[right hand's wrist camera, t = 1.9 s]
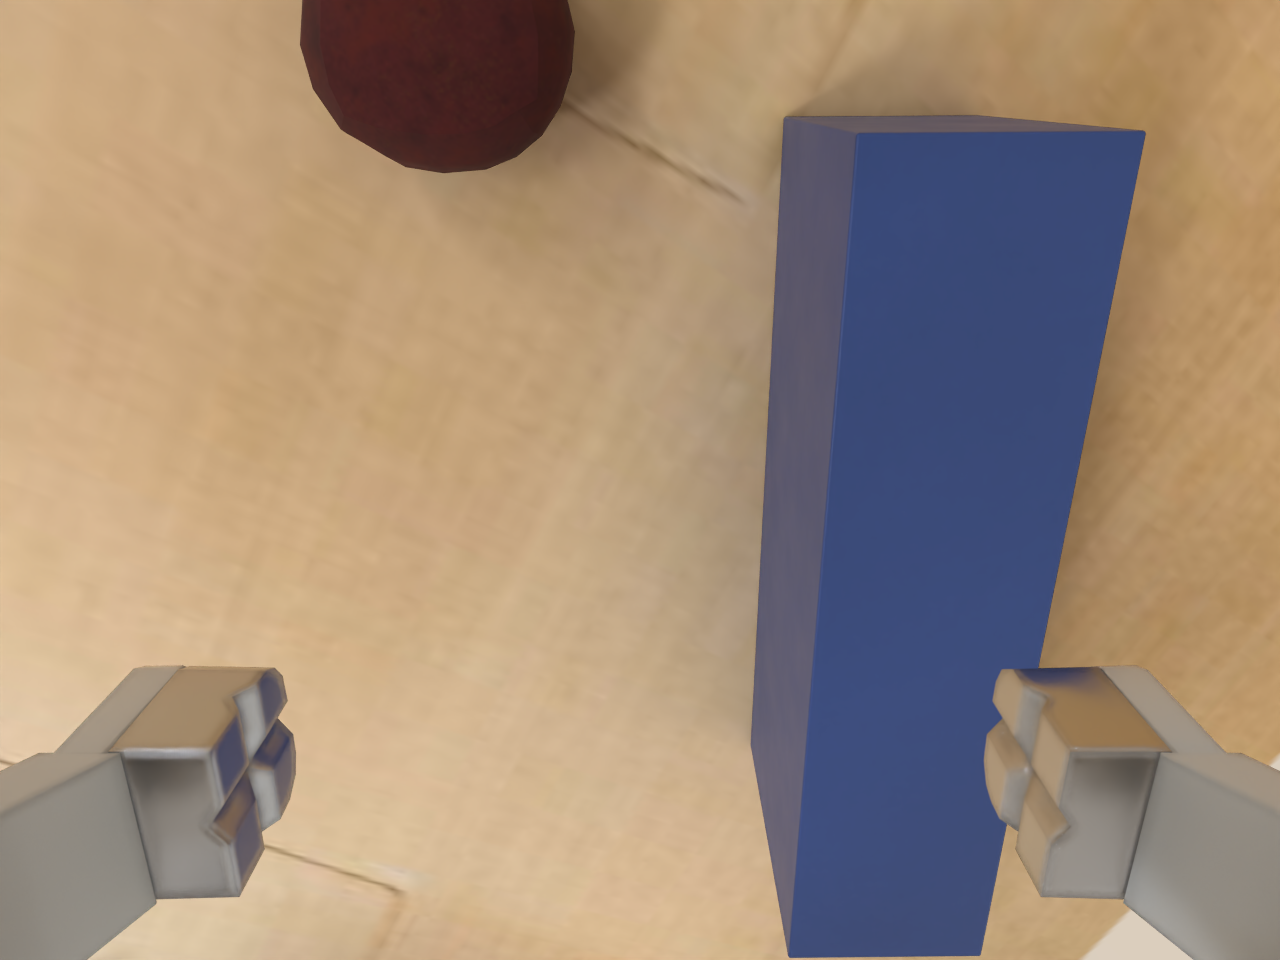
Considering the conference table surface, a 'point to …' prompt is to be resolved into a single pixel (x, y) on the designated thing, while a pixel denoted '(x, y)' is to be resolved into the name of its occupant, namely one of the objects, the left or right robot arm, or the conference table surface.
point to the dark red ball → (440, 75)
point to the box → (917, 497)
